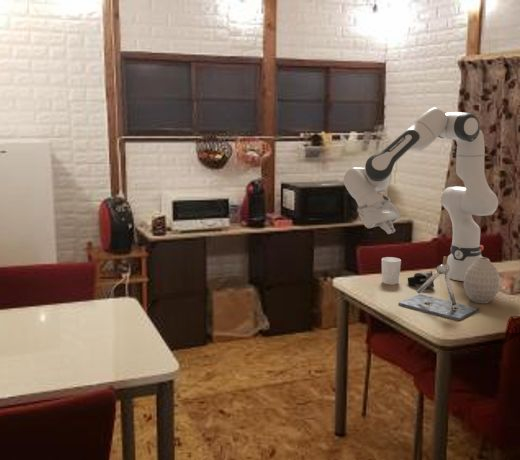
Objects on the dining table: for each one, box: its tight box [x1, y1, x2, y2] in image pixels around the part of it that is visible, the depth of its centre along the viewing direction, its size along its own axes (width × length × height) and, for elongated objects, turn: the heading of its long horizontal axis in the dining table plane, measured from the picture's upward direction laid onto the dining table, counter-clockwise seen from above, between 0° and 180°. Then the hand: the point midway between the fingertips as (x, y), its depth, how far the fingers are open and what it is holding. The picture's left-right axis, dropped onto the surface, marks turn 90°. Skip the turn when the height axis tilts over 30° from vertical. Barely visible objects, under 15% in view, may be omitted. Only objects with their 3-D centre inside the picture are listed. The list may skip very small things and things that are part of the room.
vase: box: [463, 256, 501, 304], centre depth 227 cm, size 13×13×17 cm
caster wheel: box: [407, 270, 435, 289], centre depth 248 cm, size 7×11×10 cm
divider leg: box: [416, 264, 447, 295], centre depth 220 cm, size 2×3×15 cm
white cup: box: [381, 256, 402, 286], centre depth 252 cm, size 8×8×10 cm
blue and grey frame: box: [398, 256, 480, 322], centre depth 219 cm, size 15×24×19 cm, turn 45°
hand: (392, 232), depth 229 cm, fingers closed
